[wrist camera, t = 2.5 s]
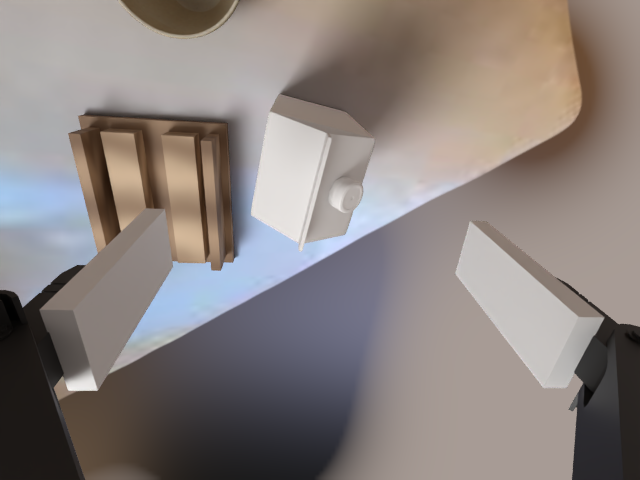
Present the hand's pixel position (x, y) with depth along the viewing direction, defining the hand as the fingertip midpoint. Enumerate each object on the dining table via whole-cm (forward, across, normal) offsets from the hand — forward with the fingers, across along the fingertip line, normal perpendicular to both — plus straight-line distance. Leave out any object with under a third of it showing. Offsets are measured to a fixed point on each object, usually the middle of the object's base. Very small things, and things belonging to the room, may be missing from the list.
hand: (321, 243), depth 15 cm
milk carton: (+25, 0, 0) cm, 25 cm away
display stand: (+24, -15, -7) cm, 29 cm away
